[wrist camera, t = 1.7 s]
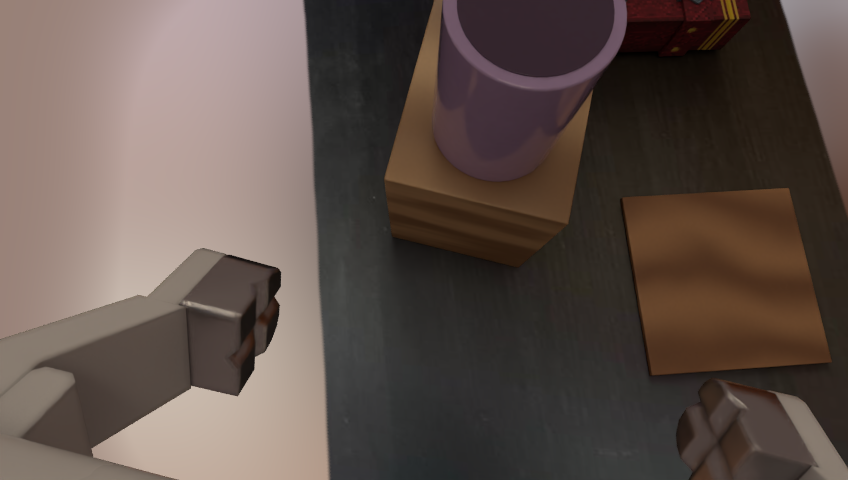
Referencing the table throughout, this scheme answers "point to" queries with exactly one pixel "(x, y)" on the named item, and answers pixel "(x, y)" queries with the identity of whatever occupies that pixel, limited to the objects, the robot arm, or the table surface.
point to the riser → (473, 182)
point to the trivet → (722, 282)
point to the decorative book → (682, 25)
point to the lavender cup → (517, 78)
